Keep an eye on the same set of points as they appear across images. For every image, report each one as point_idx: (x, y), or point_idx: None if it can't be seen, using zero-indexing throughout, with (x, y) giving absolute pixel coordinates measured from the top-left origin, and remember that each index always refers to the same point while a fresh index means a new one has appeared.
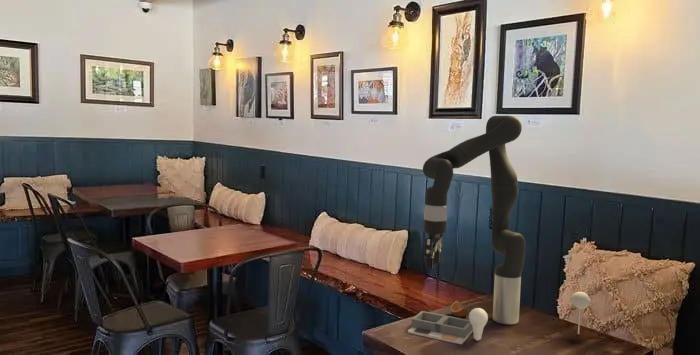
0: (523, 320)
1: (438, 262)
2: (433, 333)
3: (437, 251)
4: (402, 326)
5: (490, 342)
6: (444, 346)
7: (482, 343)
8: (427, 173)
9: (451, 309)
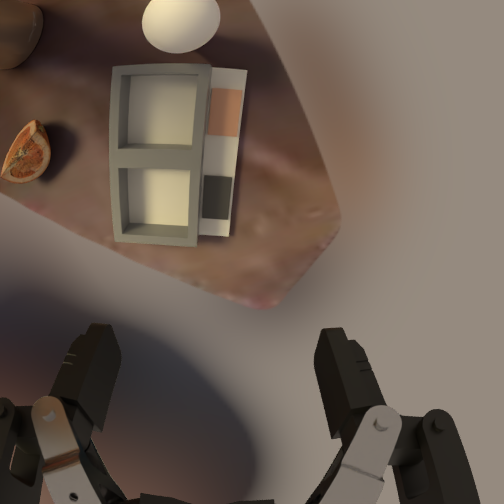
0: None
1: (105, 332)
2: (216, 164)
3: (77, 426)
4: (190, 258)
5: None
6: (282, 115)
7: None
8: None
9: (36, 173)
